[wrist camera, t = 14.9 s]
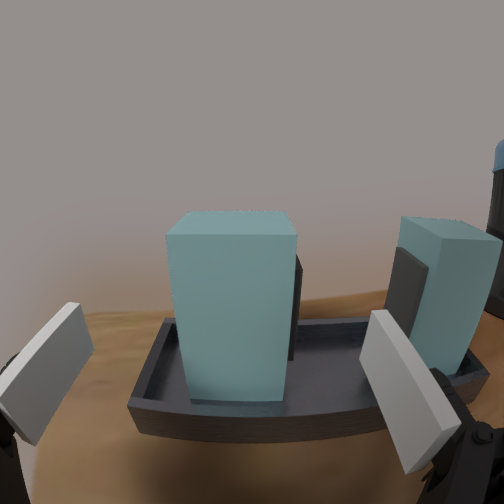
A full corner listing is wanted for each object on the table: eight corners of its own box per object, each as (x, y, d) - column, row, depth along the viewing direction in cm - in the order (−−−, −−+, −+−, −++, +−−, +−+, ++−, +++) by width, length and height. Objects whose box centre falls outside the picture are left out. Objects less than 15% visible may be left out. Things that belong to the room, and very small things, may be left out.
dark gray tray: (425, 335, 24) (433, 310, 23) (473, 401, 15) (490, 374, 14) (170, 344, 24) (165, 317, 23) (139, 432, 15) (126, 405, 14)
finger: (284, 353, 21) (293, 211, 17) (290, 400, 17) (307, 235, 13) (200, 351, 21) (188, 211, 17) (190, 398, 17) (165, 234, 13)
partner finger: (429, 338, 21) (461, 220, 18) (455, 373, 17) (502, 241, 13) (369, 347, 21) (395, 215, 18) (390, 388, 17) (436, 238, 13)
